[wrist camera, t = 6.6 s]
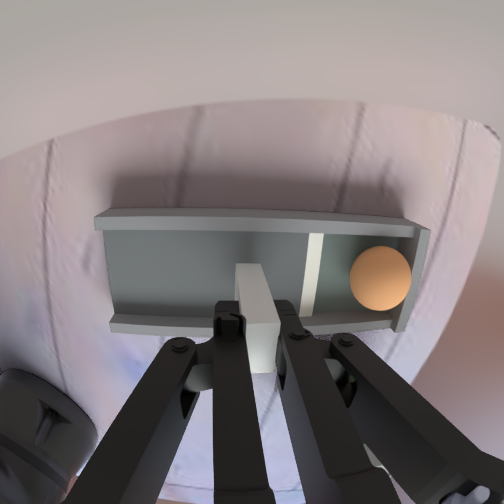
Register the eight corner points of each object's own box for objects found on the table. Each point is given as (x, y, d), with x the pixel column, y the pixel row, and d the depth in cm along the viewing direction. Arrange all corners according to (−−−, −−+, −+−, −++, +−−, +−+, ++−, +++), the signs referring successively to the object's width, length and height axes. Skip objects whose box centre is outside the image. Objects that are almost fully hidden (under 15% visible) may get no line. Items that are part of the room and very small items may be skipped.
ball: (338, 293, 21) (354, 322, 17) (347, 236, 20) (367, 254, 16) (389, 295, 21) (412, 321, 17) (400, 241, 20) (428, 259, 15)
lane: (121, 312, 21) (108, 337, 17) (109, 208, 18) (89, 219, 15) (385, 310, 23) (404, 331, 20) (404, 218, 20) (431, 230, 17)
